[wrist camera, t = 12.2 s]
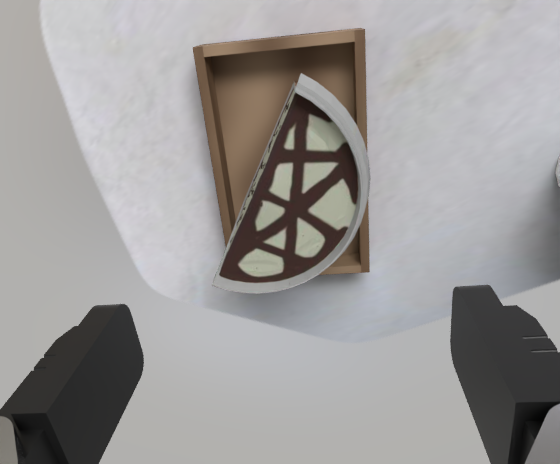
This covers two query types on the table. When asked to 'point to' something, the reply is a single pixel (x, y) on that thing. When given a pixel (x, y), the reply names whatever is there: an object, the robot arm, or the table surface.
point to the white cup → (558, 171)
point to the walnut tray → (275, 109)
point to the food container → (299, 197)
